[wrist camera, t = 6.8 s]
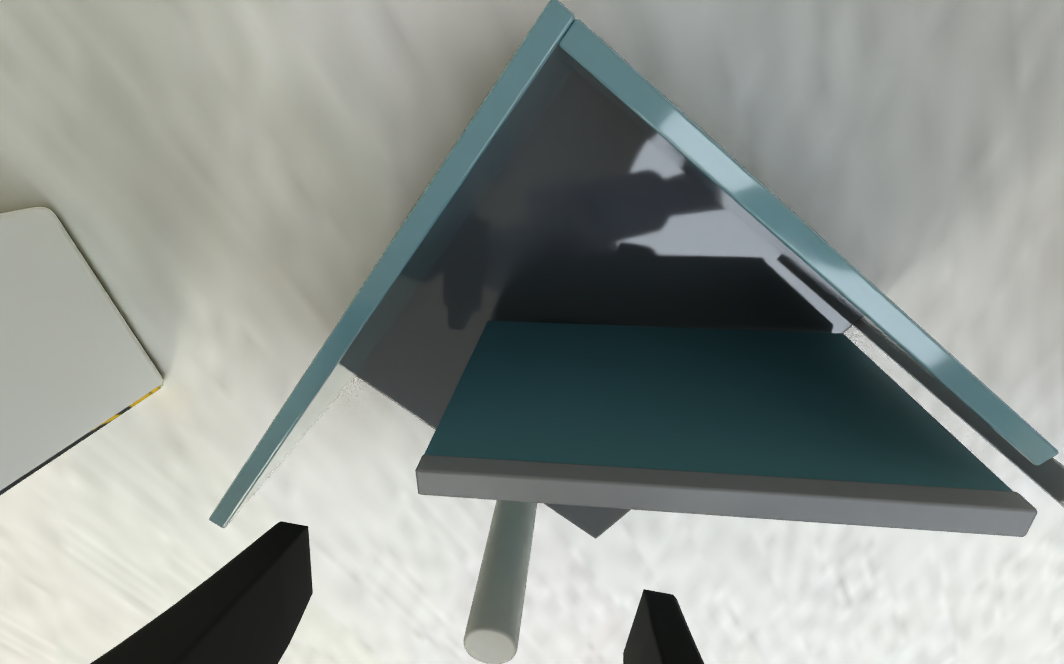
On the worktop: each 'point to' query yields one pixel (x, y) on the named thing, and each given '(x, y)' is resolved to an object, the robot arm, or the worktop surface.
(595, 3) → the worktop surface
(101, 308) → the medicine bottle
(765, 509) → the teal shelf
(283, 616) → the robot arm
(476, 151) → the teal open box
